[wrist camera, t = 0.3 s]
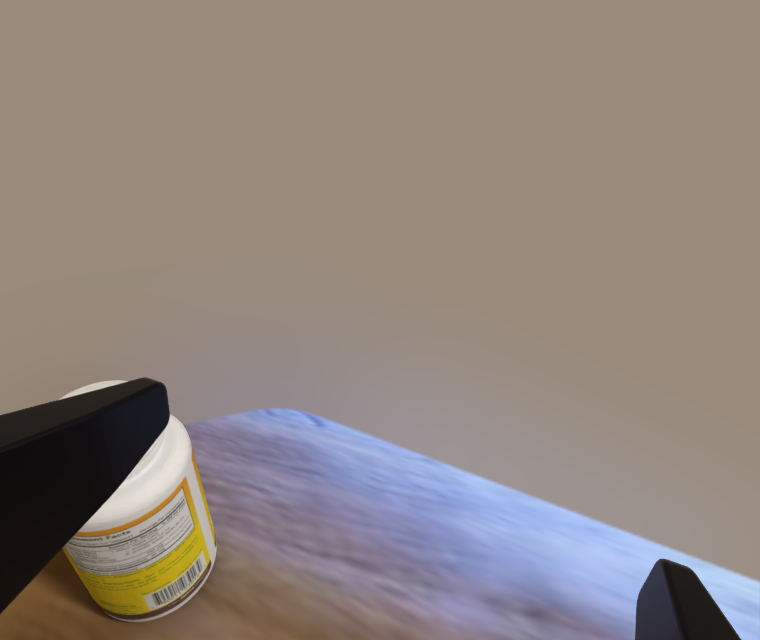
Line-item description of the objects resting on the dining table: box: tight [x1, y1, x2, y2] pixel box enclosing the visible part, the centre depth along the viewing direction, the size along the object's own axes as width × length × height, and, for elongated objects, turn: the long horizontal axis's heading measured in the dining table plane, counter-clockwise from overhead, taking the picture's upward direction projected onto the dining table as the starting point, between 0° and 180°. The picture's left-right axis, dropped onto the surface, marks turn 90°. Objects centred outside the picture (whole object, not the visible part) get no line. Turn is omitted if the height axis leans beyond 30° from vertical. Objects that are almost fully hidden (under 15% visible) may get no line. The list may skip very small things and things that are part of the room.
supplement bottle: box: [59, 380, 217, 622], centre depth 21 cm, size 6×6×10 cm
